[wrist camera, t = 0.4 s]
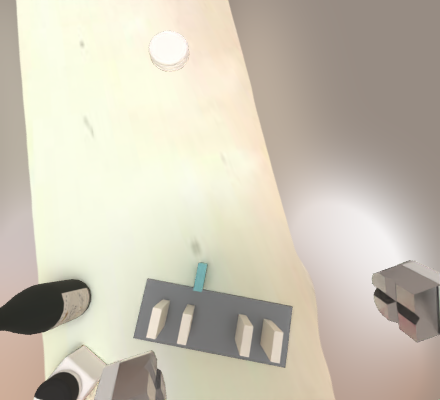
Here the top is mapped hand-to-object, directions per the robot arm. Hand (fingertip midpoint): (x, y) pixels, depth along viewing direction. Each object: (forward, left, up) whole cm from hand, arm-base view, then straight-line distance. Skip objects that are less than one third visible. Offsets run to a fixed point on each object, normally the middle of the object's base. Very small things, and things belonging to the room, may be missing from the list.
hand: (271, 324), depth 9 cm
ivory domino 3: (-11, +6, -51) cm, 52 cm away
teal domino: (+2, +3, -51) cm, 51 cm away
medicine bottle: (+8, +33, -51) cm, 62 cm away
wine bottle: (+20, +25, -51) cm, 60 cm away
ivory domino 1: (+3, +14, -51) cm, 53 cm away
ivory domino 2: (-1, +12, -51) cm, 52 cm away
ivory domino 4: (-16, +3, -51) cm, 53 cm away
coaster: (+46, -33, -52) cm, 77 cm away
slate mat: (-6, +9, -51) cm, 52 cm away
